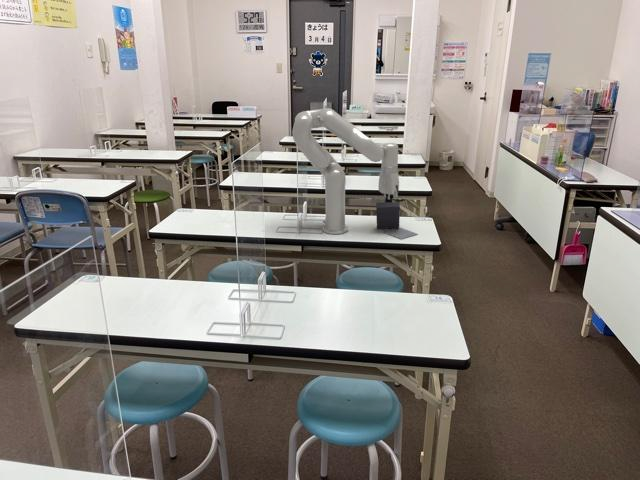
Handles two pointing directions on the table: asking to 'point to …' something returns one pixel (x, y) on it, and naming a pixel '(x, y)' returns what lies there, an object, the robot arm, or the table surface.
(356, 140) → the robot arm
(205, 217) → the table surface
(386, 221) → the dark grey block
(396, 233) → the mat
